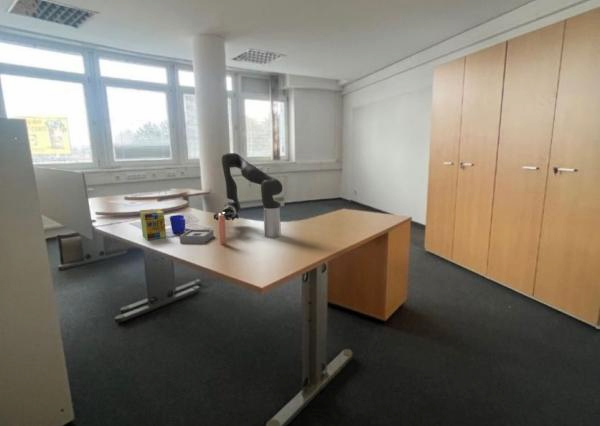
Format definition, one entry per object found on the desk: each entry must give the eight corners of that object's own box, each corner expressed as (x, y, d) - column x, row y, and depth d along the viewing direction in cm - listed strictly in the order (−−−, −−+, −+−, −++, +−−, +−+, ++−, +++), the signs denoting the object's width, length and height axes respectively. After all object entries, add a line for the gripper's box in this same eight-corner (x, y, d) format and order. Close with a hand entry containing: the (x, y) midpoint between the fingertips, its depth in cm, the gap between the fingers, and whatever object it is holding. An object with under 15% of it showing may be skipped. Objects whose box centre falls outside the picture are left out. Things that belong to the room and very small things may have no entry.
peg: (227, 243, 171) (225, 214, 167) (225, 245, 168) (223, 216, 164) (221, 243, 171) (219, 214, 168) (219, 244, 168) (217, 216, 165)
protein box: (147, 240, 178) (144, 214, 175) (142, 235, 190) (139, 210, 187) (166, 237, 184) (164, 211, 181) (160, 232, 196) (158, 208, 193)
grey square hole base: (213, 236, 185) (213, 229, 184) (204, 243, 171) (203, 236, 171) (191, 236, 186) (190, 229, 186) (180, 242, 173) (179, 235, 172)
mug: (179, 235, 188) (177, 219, 186) (168, 232, 196) (167, 216, 194) (191, 232, 195) (189, 216, 193) (180, 229, 202) (178, 214, 200)
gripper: (216, 206, 192) (211, 212, 177) (240, 206, 194) (237, 212, 178) (217, 218, 194) (212, 225, 178) (240, 218, 195) (237, 224, 179)
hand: (224, 218), depth 178 cm, fingers open, 8 cm apart
